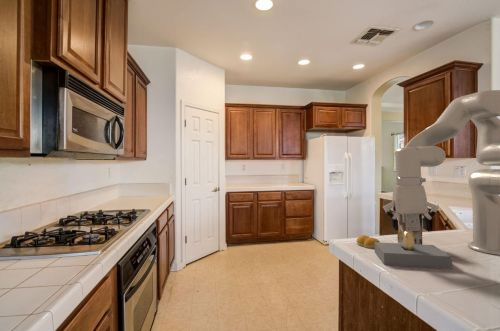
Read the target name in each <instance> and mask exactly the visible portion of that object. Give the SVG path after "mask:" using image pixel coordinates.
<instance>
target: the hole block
mask: <svg viewBox="0 0 500 331" xmlns="http://www.w3.org/2000/svg"><path fill="white" fill-rule="evenodd" d="M374 253H375V255H376V256H377V258H379V260H380V261H381V263H382V264H383V265H385V266H402V267H414V268H415V267H416V268H418V267H419V268H430V269H432V268H433V269H443V268H446V269H447V270H452V269H453V268H452V267H453V264H452V256H451V255H449V254H448V253H446V252H445V251H443V250H442V249H440V248H438V247H437V246H436V245H433V244H422V245H421V244H414V251H405V250H404V244H401V243H398V242H397V243H396V242H381V241H380V242H375V248H374Z"/></svg>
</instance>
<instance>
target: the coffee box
mask: <svg viewBox="0 0 500 331" xmlns="http://www.w3.org/2000/svg"><path fill="white" fill-rule="evenodd" d="M397 220H398V231H397V232H396V234H397V243H401V244H404V231H412V232H414V244H421V245H423V215H422V214H400V215H399V216H398V217H397Z"/></svg>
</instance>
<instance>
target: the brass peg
mask: <svg viewBox="0 0 500 331" xmlns="http://www.w3.org/2000/svg"><path fill="white" fill-rule="evenodd" d="M404 250H405V251H414V232H412V231H404Z"/></svg>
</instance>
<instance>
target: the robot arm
mask: <svg viewBox="0 0 500 331" xmlns="http://www.w3.org/2000/svg"><path fill="white" fill-rule="evenodd" d="M499 117H500V89H496V90H495V89H493V90H491V89H489V90H482V91H478V92H473V93H470V94H466V95H461V96H459V97H457V98H455V99H453V100H452V101H451V102H450V103H449V104H448V106H447V107H446V108H445V109H444V111H443V112H442V113H441V115H440V116H439V117H438V118H437V120H436V121H435V122H434V123H433V124H431V125H430V126H428V127H426V128H425V129H424V130H422V131H420V132H419V133H417V134H416V135H415V136H413V137H412V138H411V139H410V140H409V142H407V144H406V145H405V146H404V147H399V148H396V150H395V151H394V152H395V154H394V155H395V176H396V179H395V180H396V185H393V188H392V189H393V190H392V201H391V202H389V203H387V204H385V205H383V206H382V208H383V210H384V212H385V214H386V215H388V217H389V218H391V227H392V228H393V230H395V231H398V220H397V217H398V216H399V215H400V214H422V230H425V231H427V232H429V231H430V229H431V220H432V218H433V217H434V216H435V215H436V213H437V211H438V209H439V206H438V205H436V204H433V203H431V202H429V201H428V198H427V194H426V188H425V186H424V185H423V183H426V182H427V179H426V177H425V178H423V177H422V168H425V167H426V168H434V167H437V166H440V165H442V164H443V163H444V162H445V160H446V156H447V155H446V152H445V150H444V149H443V148H441V147H439V146H436V145H439V144H441V143H443V142H444V143H445V142H447V141H448V140H451V139H453V138H455V137H457V136H459V135H460V134H461V132H462V131H463V129H464V128H465V127H466V125H467V124H468V122H469V121H470V120H471V122H472V123H473V125H474V126H475V127H476V130H477V142H476V151H475V152H476V153H475V154H476V157H475V158H476V161H477V163H478V164H480V165H481V166H487V167H488V166H489V167H500V118H499ZM468 185H469V189H470V194H471V199H472V200H471V202H472V203H471V204H472V241H471V242H468V244H467V247H468V248H470V249H471V250H474V251H476V252H479V253H480V252H481V253H483V254H489V255H490V254H491V255H495V256H496V255H497V256H500V168H499V169H497V168H484V169H478V170H474V171H473V172H471V173H470V175H469V176H468ZM429 207H430V208H431V209H430V210H428V209H429ZM391 208H392V212H391V211H390V209H391Z"/></svg>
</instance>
